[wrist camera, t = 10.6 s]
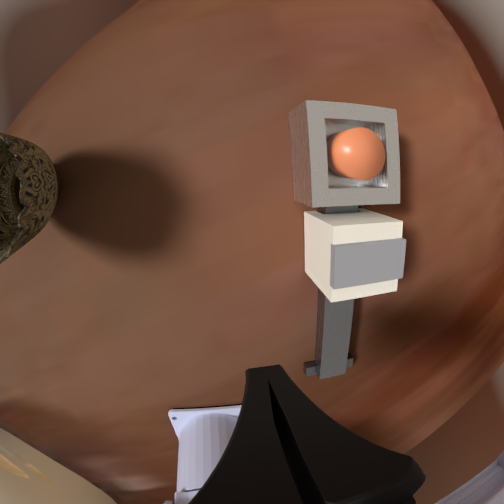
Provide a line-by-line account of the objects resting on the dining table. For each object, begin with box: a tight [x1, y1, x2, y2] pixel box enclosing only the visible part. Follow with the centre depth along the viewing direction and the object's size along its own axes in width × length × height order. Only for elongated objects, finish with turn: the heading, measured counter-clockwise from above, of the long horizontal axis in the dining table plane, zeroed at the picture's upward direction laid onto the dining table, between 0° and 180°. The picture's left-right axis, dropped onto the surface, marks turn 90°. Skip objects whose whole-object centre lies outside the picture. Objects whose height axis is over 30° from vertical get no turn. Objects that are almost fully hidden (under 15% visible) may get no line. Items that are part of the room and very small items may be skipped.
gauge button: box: [327, 127, 385, 180], centre depth 15 cm, size 3×3×2 cm
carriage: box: [304, 208, 406, 303], centre depth 18 cm, size 4×5×6 cm
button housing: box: [288, 100, 400, 208], centre depth 17 cm, size 6×6×4 cm
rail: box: [304, 205, 358, 379], centre depth 21 cm, size 14×4×2 cm, turn 4°
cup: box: [0, 133, 61, 264], centre depth 13 cm, size 8×7×8 cm
